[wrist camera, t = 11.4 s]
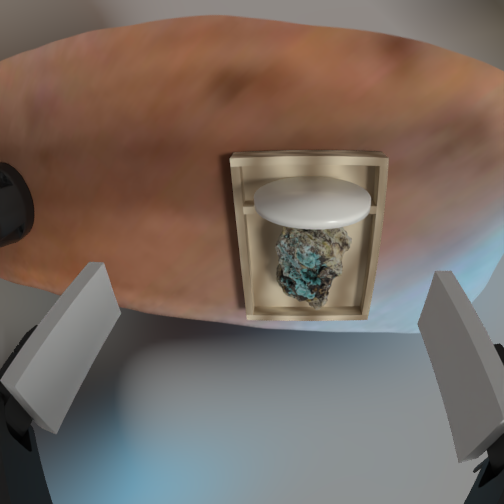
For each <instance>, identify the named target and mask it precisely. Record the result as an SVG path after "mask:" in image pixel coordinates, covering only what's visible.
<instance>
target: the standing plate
mask: <svg viewBox="0 0 504 504" xmlns="http://www.w3.org/2000/svg"><path fill="white" fill-rule="evenodd" d="M254 207H255V210H256V212H257V213H258V214H259V215H260V216H261V217H262V218H264V219H266V220H268V221H270V222H272V223H275V224H278V225H282V226H286V227H291V228H298V229H315V230H317V229H333V228H340V227H344V226H349V225H352V224H355V223H357V222H359V221H361V220H363V219H364V218H365V217H366V216H367V215H368V214H369V212H370V208H371V196H370V194H369V193H368V192H367V191H366V190H365V189H364V188H362V187H360V186H359V185H356V184H354V183H351V182H348V181H345V180H341V179H336V178H330V177H318V176H302V177H292V178H285V179H280V180H277V181H273V182H270V183H268V184H266V185H264V186H262V187H260V188H259V189H258V190H257V191H256V192H255V194H254Z"/></svg>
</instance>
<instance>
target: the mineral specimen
mask: <svg viewBox="0 0 504 504" xmlns="http://www.w3.org/2000/svg"><path fill="white" fill-rule="evenodd" d="M350 244H352V238H350V237H349V236H348V234H347V232H346V231H345V230H344V228H343V227H340V228H333V229H317V230H315V229H298V228H291V227H286V226H284V227H283V230H282V232H281V234H280V236H279V237H278V241H277V242H276V246H275V249H276V252H277V255H278V256H279V259H278V261H279V263H280V264H279V265H278V266H277V271H276V275H277V277H276V280H277V282H278V284H279V286H280V287H281V288H282V290H283V293H285V294H286V295H287V296H289V297H293V298H295V299H297V300H298V301H299V302H301V301H306V302H308V303H309V306H311V307H314V309H315V310H319V309H321V308H322V307H323V306H324V305H325V304H326V302H327V301H328V299H327V297H328V295H329V292H328V291H329V289H330V287H331V284H332V281H333V279H334V278H336V277H339V276H341V274H342V271H343V270H342V268H343V266H342V258H343V254H344V252H346V251H348V250H349V249H350Z"/></svg>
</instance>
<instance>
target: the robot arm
mask: <svg viewBox="0 0 504 504" xmlns="http://www.w3.org/2000/svg"><path fill="white" fill-rule="evenodd" d="M33 221H34V207H33V202H32V198H31V194H30V192H29V189H28V187H27V185H26V183H25V181H24V180H23V178H22V177H21V175H20V174H19V173H18V172H17V171H16V170H15V169H14V168H13V167H12V166H10V165H8V164H6V163H2V162H0V247H3V246H6V245H9V244H12V243H16V242H18V241H20V240H21V239H22V238H23V237H25V236H26V235H27V234H28V233H29V232H30V230H31V228H32V226H33ZM120 314H121V312H120V309H119V306H118V304H117V301H116V298H115V295H114V292H113V289H112V286H111V283H110V280H109V277H108V274H107V271H106V268H105V265H104V263H102V262H89V263H88V264H87V265H86V266H85V268H84V269H83V270H82V271H81V272H80V274H79V275H78V276H77V277H76V278H75V279H74V281H73V282H72V283H71V284H70V286H69V287H68V288H67V289H66V290H65V292H64V293H63V294H62V295H61V297H60V298H59V299H58V300H57V302H56V303H55V304H54V306H53V307H52V308H51V309H50V311H49V312H48V313H47V314H46V316H45V317H44V318H43V320H42V321H41V322H40V324H39V325H36V326H34V327H33V328H32V329H31V330H30V331H29V332H27V333H26V334H25V335H24V337H23V338H22V340H21V341H20V342H19V345H17V346H16V348H15V349H14V352H12V353H11V355H10V356H9V358H8V359H7V361H6V362H5V364H4V365H3V367H2V368H1V369H0V504H53V503H52V500H51V497H50V494H49V490H48V487H47V484H46V480H45V476H44V473H43V469H42V465H41V461H40V457H39V452H38V448H37V443H36V438H35V433H34V430H33V427H32V426H31V425H30V424H31V422H32V420H34V421H35V422H36V423H37V424H38V425H39V426H40V427H41V428H43V429H45V430H47V431H50V432H52V433H54V434H57V432H58V430H59V427H60V425H61V423H62V421H63V419H64V417H65V415H66V413H67V411H68V409H69V407H70V405H71V403H72V401H73V399H74V397H75V395H76V393H77V392H78V390H79V388H80V386H81V384H82V382H83V380H84V378H85V376H86V374H87V373H88V371H89V369H90V367H91V365H92V363H93V361H94V360H95V358H96V356H97V354H98V352H99V351H100V349H101V347H102V345H103V343H104V342H105V340H106V338H107V336H108V335H109V333H110V331H111V329H112V328H113V326H114V324H115V323H116V321H117V319H118V317H119V316H120ZM418 327H419V330H420V332H421V335H422V337H423V340H424V343H425V346H426V348H427V351H428V354H429V357H430V361H431V363H432V367H433V369H434V372H435V375H436V379H437V382H438V385H439V389H440V392H441V395H442V398H443V402H444V405H445V409H446V413H447V416H448V420H449V424H450V428H451V432H452V436H453V440H454V444H455V449H456V453H457V457H458V462H459V463H462V462H465V461H469V460H472V459H476V458H478V457H479V456H480V455H481V454H483V453H484V452H485V451H486V450H487V453H488V457H487V458H486V459H485V460H484V461H483V462H481V463H480V464H479V465H478V466H477V467H476V468H475V469H474V471H473V472H474V473H475V472H477V471H478V470H479V469H481V470H480V472H479V474H478V476H477V479H476V481H475V483H474V485H473V487H472V489H471V491H470V493H469V495H468V497H467V499H466V500H465V502H464V504H504V347H503V346H502V345H501V344H493V343H492V341H491V339H490V337H489V335H488V333H487V331H486V329H485V328H484V326H483V324H482V322H481V320H480V318H479V317H478V315H477V313H476V311H475V309H474V308H473V306H472V304H471V302H470V301H469V299H468V297H467V296H466V294H465V292H464V291H463V289H462V287H461V286H460V284H459V282H458V281H457V279H456V278H455V276H454V274H453V273H452V271H435V273H434V277H433V280H432V283H431V286H430V289H429V292H428V295H427V298H426V301H425V304H424V307H423V310H422V313H421V316H420V318H419V321H418Z"/></svg>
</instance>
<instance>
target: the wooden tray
mask: <svg viewBox="0 0 504 504" xmlns="http://www.w3.org/2000/svg"><path fill="white" fill-rule="evenodd" d="M388 160H389V158H388V157H387V156H386V155H385V154H384V153H383V152H377V151H349V150H280V151H252V152H234V153H233V155H232V156H231V157H230V167H231V177H232V187H233V196H234V206H235V215H236V225H237V234H238V244H239V253H240V262H241V271H242V280H243V289H244V298H245V307H246V316H247V320H274V321H334V320H367V319H368V314H369V309H370V304H371V299H372V293H373V288H374V282H375V276H376V270H377V263H378V257H379V250H380V242H381V235H382V227H383V218H384V209H385V199H386V188H387V175H388ZM302 176H318V177H330V178H336V179H341V180H345V181H348V182H351V183H354V184H356V185H359V186H360V187H362V188H364V189H365V190H366V191H367V192H368V193H369V194H370V196H371V208H370V212H369V214H368V215H367V216H366V217H365V218H364V219H363V220H361V221H359V222H357V223H355V224H352V225H349V226H344V227H343V228H344V230H345V231H346V232H347V234H348V236H349V237H350V238H352V244H350V249H349V250H348V251H346V252H344V254H343V258H342V266H343V268H342V270H343V271H342V274H341V276H339V277H336V278H334V279H333V281H332V284H331V287H330V289H329V291H328V292H329V295H328V297H327V299H328V301H327V302H326V304H325V305H324V306H323V307H322V308H321V309H319V310H315V309H314V307H311V306H309V303H308V302H306V301H301V302H299V301H298V300H297V299H295V298H293V297H289V296H287V295H286V294H285V293H283V290H282V288H281V287H280V286H279V284H278V282H277V280H276V277H277V275H276V271H277V266H278V265H279V264H280V263H279V261H278V259H279V256H278V255H277V252H276V249H275V246H276V242H277V241H278V237H279V236H280V234H281V232H282V230H283V227H284V226H282V225H278V224H275V223H272V222H270V221H268V220H266V219H264V218H262V217H261V216H260V215H259V214H258V213H257V212H256V210H255V207H254V194H255V192H256V191H257V190H258V189H259V188H260V187H262V186H264V185H266V184H268V183H270V182H273V181H277V180H280V179H285V178H292V177H302Z"/></svg>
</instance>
